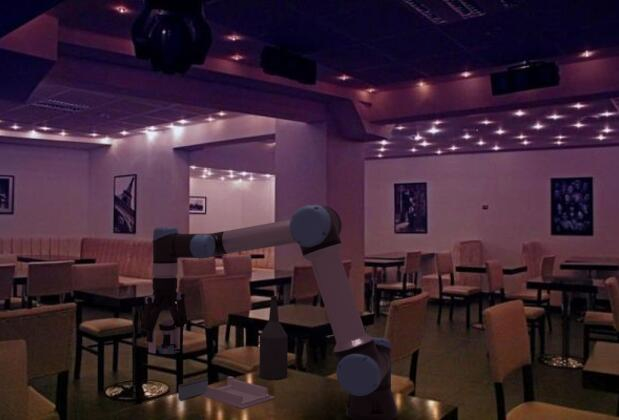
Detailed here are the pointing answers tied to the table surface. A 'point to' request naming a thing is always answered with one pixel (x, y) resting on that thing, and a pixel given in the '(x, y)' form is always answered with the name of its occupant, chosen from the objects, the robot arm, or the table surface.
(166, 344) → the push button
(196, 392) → the dark slender plank
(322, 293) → the robot arm
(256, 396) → the tray
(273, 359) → the bottle
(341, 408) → the table surface
